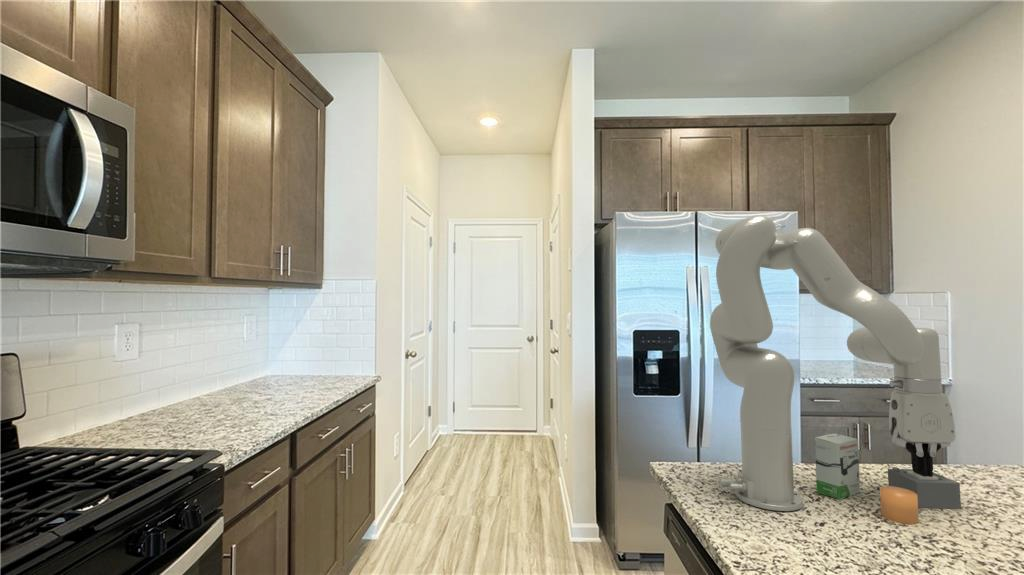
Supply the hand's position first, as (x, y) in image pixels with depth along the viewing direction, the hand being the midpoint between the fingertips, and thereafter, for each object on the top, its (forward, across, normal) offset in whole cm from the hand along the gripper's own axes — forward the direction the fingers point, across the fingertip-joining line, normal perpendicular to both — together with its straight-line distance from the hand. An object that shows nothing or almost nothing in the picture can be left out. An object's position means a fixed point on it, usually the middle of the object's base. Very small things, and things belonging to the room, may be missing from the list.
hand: (922, 474), depth 96 cm
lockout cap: (+5, -11, -9) cm, 15 cm away
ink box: (+6, -15, +3) cm, 16 cm away
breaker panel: (+5, 0, 0) cm, 5 cm away
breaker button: (+5, 0, 0) cm, 5 cm away
